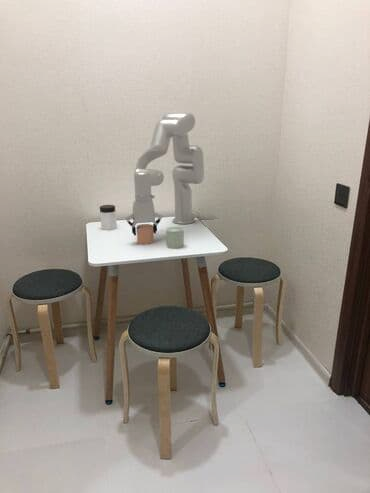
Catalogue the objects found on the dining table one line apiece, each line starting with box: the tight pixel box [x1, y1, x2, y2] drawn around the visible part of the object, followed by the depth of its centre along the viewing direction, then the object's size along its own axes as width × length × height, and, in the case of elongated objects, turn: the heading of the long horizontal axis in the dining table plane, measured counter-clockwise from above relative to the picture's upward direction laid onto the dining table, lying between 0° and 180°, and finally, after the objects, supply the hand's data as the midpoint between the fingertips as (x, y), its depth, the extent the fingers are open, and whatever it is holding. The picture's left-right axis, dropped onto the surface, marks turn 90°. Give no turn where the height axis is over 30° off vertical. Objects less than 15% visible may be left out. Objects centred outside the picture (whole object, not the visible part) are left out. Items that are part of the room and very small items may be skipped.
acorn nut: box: [165, 226, 185, 249], centre depth 182 cm, size 8×8×8 cm
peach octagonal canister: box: [135, 223, 155, 246], centre depth 188 cm, size 8×8×8 cm
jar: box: [99, 204, 118, 231], centre depth 212 cm, size 9×8×12 cm
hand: (144, 233), depth 188 cm, fingers open, 9 cm apart
